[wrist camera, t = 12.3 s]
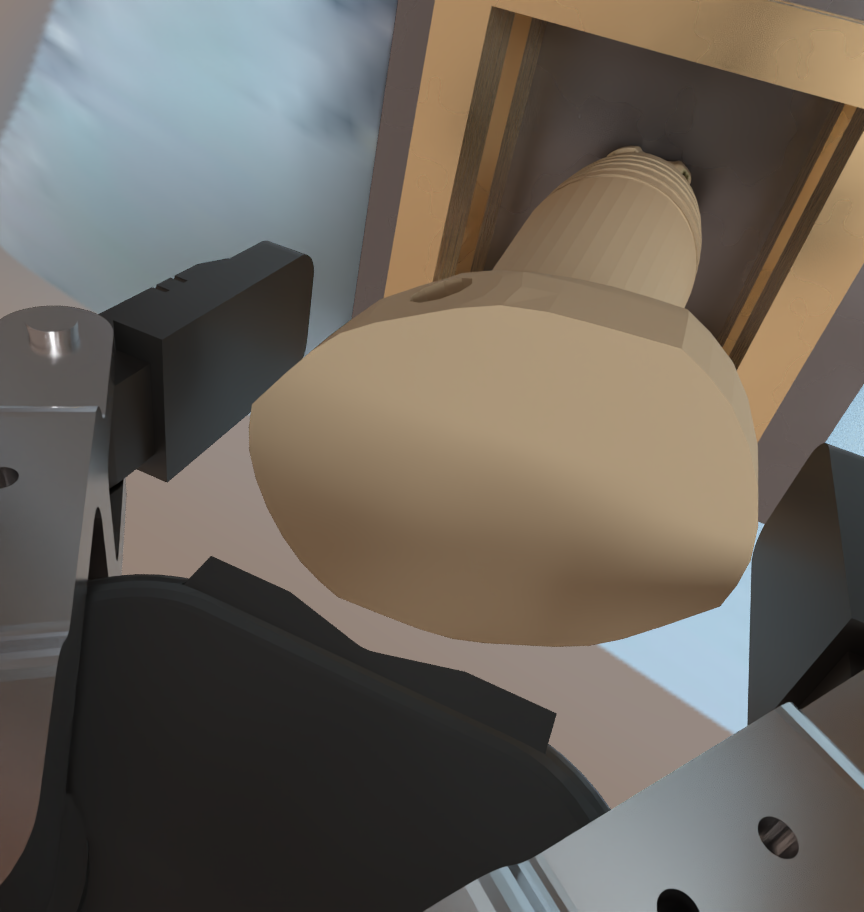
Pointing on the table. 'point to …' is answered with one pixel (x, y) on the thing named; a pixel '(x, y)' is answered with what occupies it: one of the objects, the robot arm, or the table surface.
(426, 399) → the handle
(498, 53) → the collar stand
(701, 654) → the table surface
